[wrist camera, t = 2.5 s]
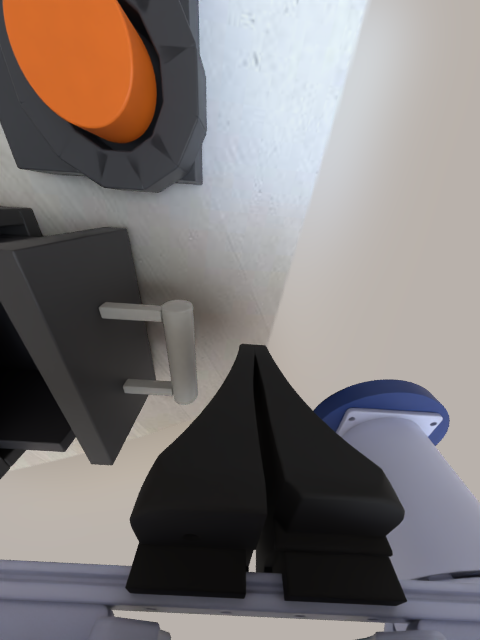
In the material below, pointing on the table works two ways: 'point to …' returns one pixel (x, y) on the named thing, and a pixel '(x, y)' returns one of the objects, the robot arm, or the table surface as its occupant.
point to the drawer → (82, 343)
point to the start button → (85, 64)
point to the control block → (108, 157)
